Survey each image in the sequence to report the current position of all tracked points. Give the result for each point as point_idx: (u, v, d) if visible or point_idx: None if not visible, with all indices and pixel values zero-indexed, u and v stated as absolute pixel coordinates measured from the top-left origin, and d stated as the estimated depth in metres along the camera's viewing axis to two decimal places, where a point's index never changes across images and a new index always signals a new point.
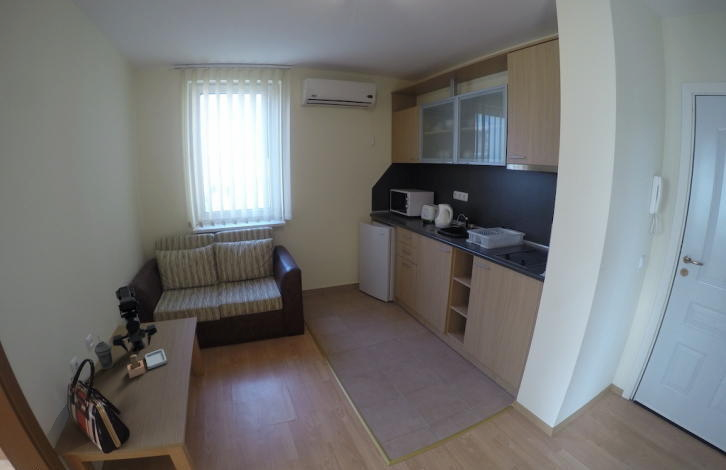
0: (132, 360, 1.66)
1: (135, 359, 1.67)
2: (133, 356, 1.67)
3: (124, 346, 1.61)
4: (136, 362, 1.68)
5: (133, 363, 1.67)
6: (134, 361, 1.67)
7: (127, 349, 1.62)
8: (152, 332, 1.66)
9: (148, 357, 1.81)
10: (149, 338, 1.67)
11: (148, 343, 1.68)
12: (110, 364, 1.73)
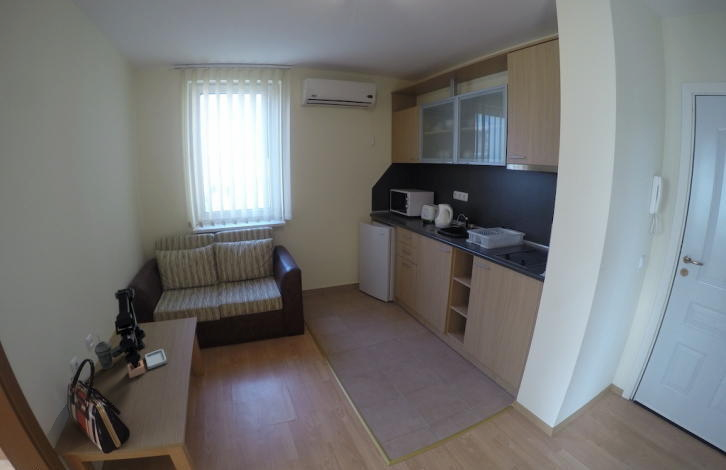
0: None
1: None
2: None
3: (129, 352, 1.71)
4: None
5: None
6: None
7: None
8: None
9: (148, 357, 1.81)
10: (131, 362, 1.63)
11: None
12: (110, 364, 1.73)
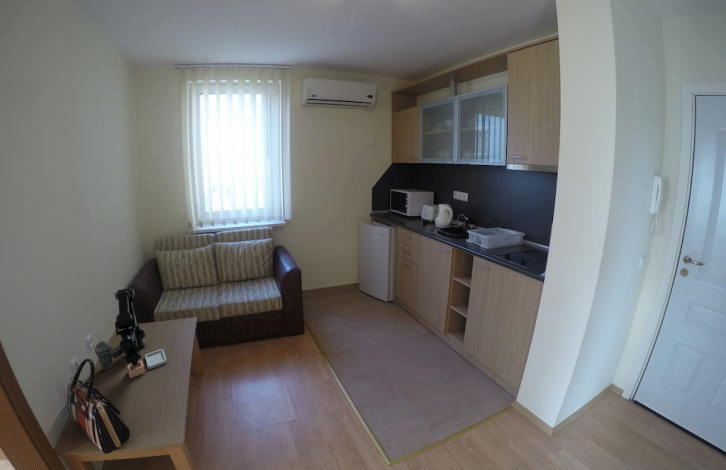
0: None
1: None
2: None
3: None
4: None
5: None
6: None
7: None
8: None
9: (148, 357, 1.81)
10: None
11: (133, 364, 1.67)
12: (110, 364, 1.73)
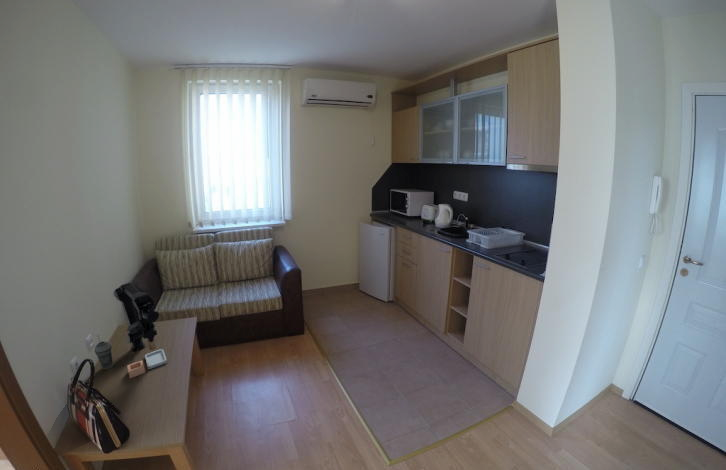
0: None
1: None
2: None
3: None
4: None
5: None
6: None
7: None
8: (143, 335, 1.66)
9: (148, 357, 1.81)
10: None
11: (149, 340, 1.74)
12: (110, 364, 1.73)
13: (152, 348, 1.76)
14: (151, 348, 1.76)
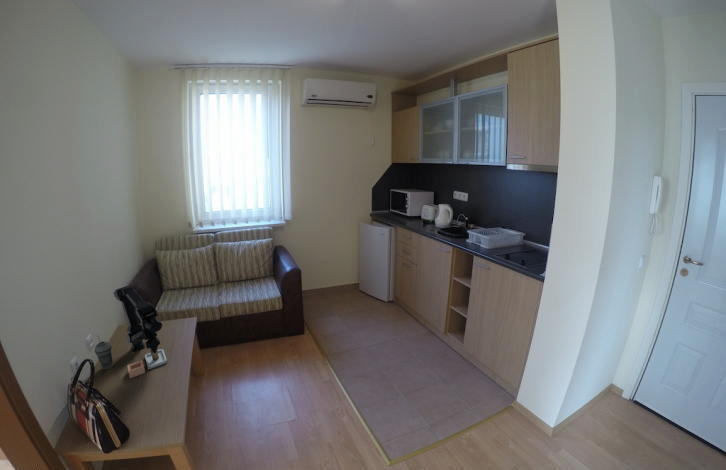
0: None
1: None
2: None
3: None
4: None
5: None
6: None
7: None
8: (146, 345, 1.68)
9: (148, 357, 1.81)
10: (150, 347, 1.73)
11: None
12: (110, 364, 1.73)
13: (155, 359, 1.78)
14: (154, 359, 1.78)
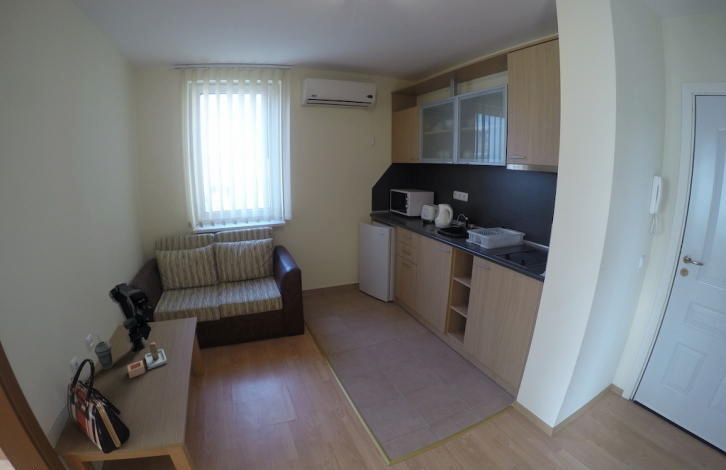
0: (151, 347, 1.76)
1: (154, 346, 1.77)
2: (152, 344, 1.77)
3: (139, 326, 1.82)
4: (155, 349, 1.77)
5: (152, 350, 1.76)
6: (154, 348, 1.76)
7: None
8: (137, 331, 1.71)
9: (148, 357, 1.81)
10: (142, 334, 1.75)
11: (144, 338, 1.76)
12: (110, 364, 1.73)
13: (155, 359, 1.78)
14: (154, 359, 1.78)
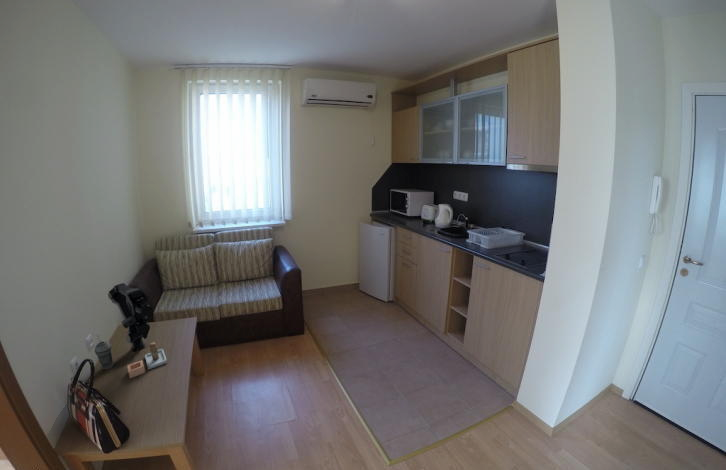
0: (152, 347, 1.76)
1: (154, 346, 1.77)
2: (152, 344, 1.77)
3: (139, 325, 1.83)
4: (155, 349, 1.77)
5: (152, 350, 1.76)
6: (154, 348, 1.76)
7: None
8: (136, 329, 1.72)
9: (148, 357, 1.81)
10: (141, 333, 1.75)
11: (143, 336, 1.77)
12: (110, 364, 1.73)
13: (155, 359, 1.78)
14: (154, 359, 1.78)
